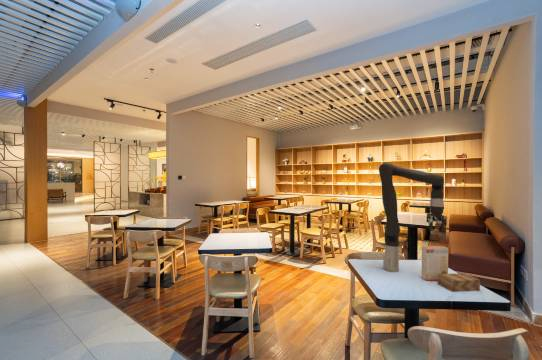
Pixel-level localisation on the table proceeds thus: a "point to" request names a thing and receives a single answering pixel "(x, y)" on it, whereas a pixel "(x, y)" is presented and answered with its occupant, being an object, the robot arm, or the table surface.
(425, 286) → the table surface
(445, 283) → the walnut block
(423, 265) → the cracker box
